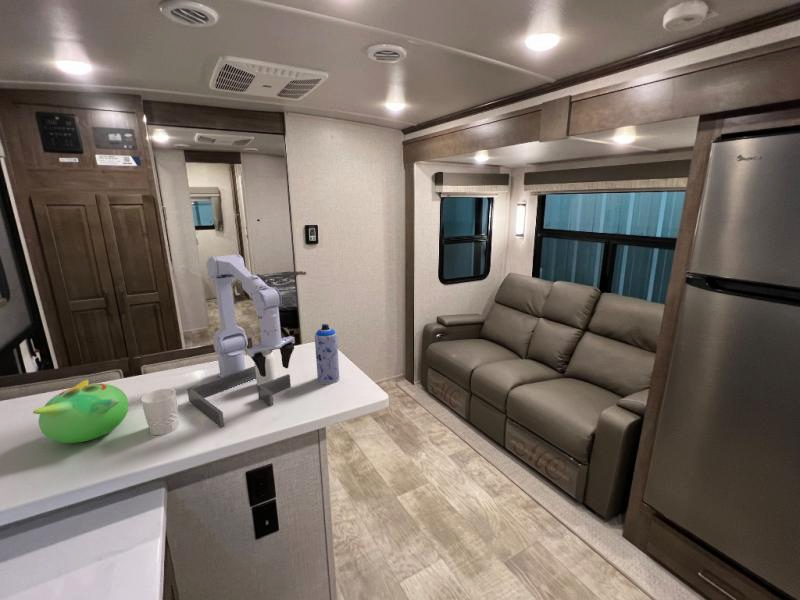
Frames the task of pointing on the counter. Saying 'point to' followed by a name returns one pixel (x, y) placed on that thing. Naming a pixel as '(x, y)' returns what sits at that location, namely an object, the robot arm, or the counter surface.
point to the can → (267, 368)
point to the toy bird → (83, 412)
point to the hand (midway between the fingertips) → (274, 371)
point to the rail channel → (229, 381)
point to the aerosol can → (327, 355)
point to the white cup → (161, 411)
